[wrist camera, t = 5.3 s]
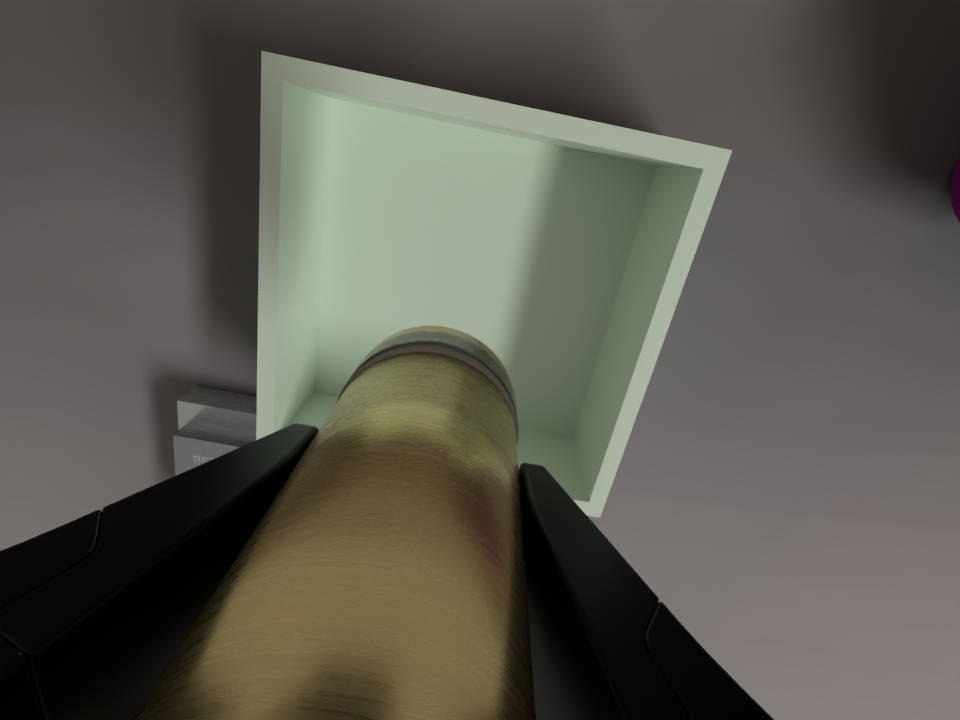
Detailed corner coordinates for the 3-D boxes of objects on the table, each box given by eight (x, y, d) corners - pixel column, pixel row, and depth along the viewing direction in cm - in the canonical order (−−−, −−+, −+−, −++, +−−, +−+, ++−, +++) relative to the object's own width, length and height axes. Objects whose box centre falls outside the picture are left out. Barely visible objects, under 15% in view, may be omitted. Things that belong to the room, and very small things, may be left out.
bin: (579, 445, 23) (599, 517, 18) (305, 395, 23) (256, 457, 18) (672, 151, 18) (732, 150, 14) (323, 78, 18) (261, 50, 13)
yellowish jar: (532, 341, 10) (665, 1045, 2) (498, 480, 12) (500, 1229, 4) (360, 308, 10) (-197, 937, 2) (346, 453, 12) (-14, 1174, 3)
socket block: (353, 546, 26) (336, 592, 23) (201, 520, 26) (166, 564, 23) (368, 416, 23) (350, 452, 20) (196, 385, 23) (154, 417, 20)
